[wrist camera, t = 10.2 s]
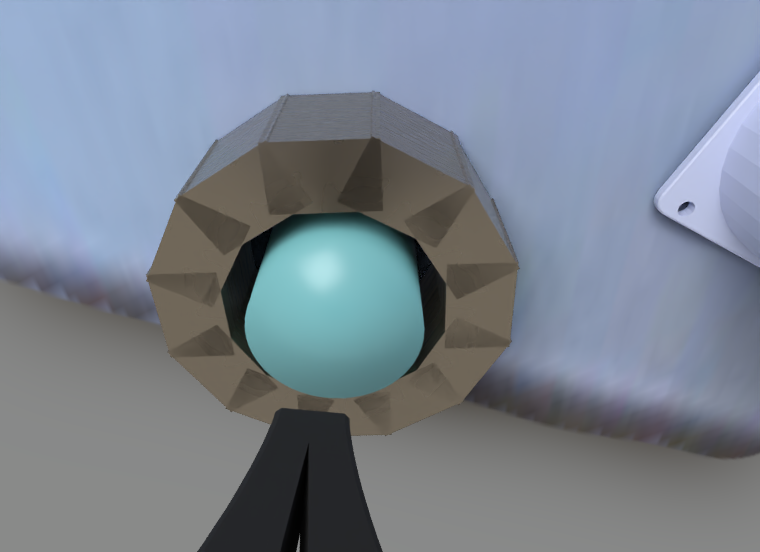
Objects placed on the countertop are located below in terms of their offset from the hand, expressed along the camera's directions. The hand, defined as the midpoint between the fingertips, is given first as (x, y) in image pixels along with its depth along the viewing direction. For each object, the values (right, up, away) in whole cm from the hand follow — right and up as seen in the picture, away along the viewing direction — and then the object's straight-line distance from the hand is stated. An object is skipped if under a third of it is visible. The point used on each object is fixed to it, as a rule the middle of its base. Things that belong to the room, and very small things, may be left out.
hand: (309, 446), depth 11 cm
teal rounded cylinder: (0, +5, +8) cm, 10 cm away
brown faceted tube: (0, +4, +8) cm, 9 cm away
